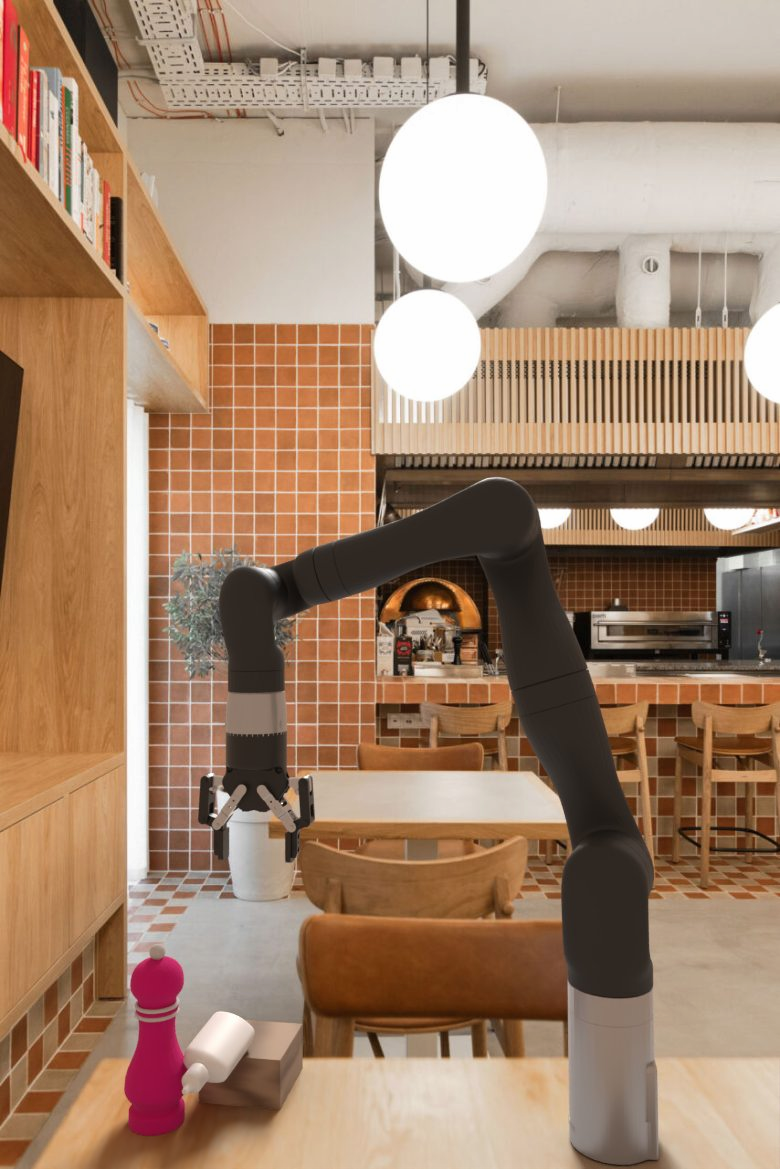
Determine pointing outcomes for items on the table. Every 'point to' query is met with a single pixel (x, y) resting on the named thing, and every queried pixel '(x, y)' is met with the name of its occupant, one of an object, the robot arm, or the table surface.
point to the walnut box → (262, 1069)
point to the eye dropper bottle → (216, 1051)
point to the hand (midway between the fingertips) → (256, 860)
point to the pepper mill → (156, 1047)
